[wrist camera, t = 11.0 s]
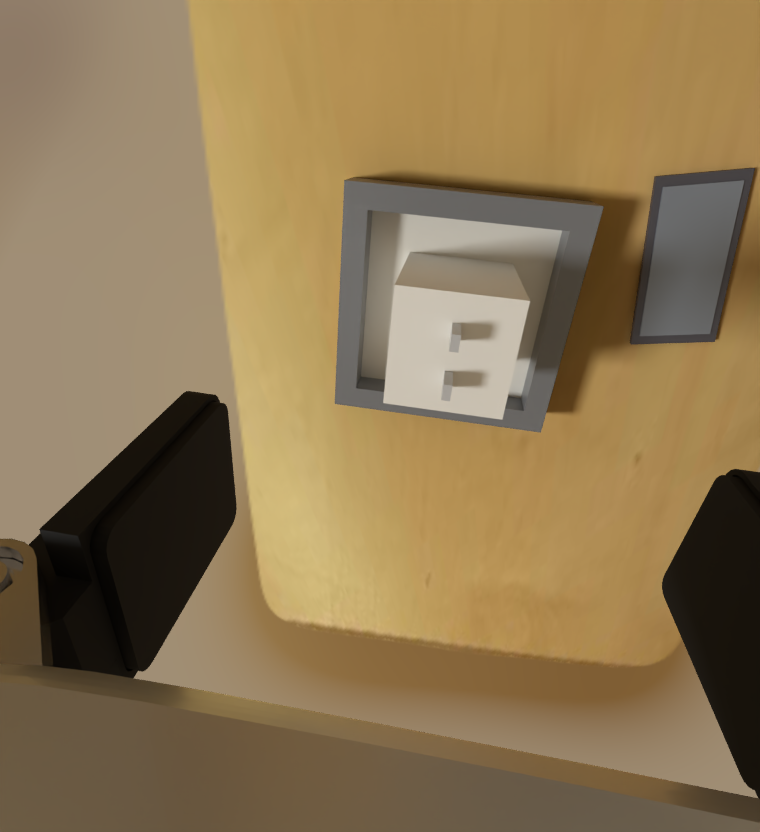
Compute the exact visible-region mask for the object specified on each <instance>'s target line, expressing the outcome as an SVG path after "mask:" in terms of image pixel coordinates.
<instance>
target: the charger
mask: <svg viewBox="0 0 760 832" xmlns="http://www.w3.org/2000/svg"><path fill="white" fill-rule="evenodd" d="M529 304H530V300H529V297H528V295H527V293H526V291H525V289H524V287H523V285H522V282H521V280H520V278H519V276H518V274H517V272H516V269H515V267H514V265H513V264H511V263H502V262H493V261H485V260H476V259H467V258H458V257H449V256H441V255H432V254H423V253H414V252H410V253H409V255H408V257H407V259H406V262H405V264H404V266H403V268H402V270H401V272H400V274H399V277H398V279H397V281H396V283H395V287H394V297H393V307H392V317H391V328H390V338H389V348H388V358H387V368H386V378H385V389H384V399H383V403H386V404H393V405H400V406H407V407H415V408H422V409H429V410H436V411H443V412H450V413H458V414H465V415H472V416H479V417H486V418H493V419H501V420H502V419H503V415H504V411H505V406H506V402H507V398H508V394H509V389H510V385H511V381H512V376H513V372H514V368H515V364H516V359H517V355H518V351H519V347H520V342H521V338H522V334H523V329H524V325H525V321H526V317H527V312H528V308H529Z"/></svg>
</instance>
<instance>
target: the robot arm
mask: <svg viewBox="0 0 760 832" xmlns="http://www.w3.org/2000/svg"><path fill="white" fill-rule="evenodd" d="M233 475H234V474H233V463H232V452H231V441H230V430H229V419H228V410H227V406H226V405H225V404H224V403H220V401H219V399H218V397H217V396H216V395H212V394H204V393H198V392H191V391H186V392H185V393H183V394H182V395H181V396H180V397H179V398H178V399H177V400H176V401H175V402H174V403H173V404H172V405H171V406H169V407H168V408H167V409H166V410H165V411H164V412H163V413H162V414H161V415H160V416H159V417H158V418H157V419H156V420H155V421H154V422H153V423H151V424H150V425H149V426H148V427H147V428H146V429H145V430H144V431H143V432H142V433H141V434H140V435H139V436H138V437H137V438H136V439H134V441H132V442H131V443H130V444H129V445H128V446H127V447H126V448H125V449H124V450H123V451H122V452H121V453H120V454H119V455H118V456H116V457H115V458H114V459H113V460H112V461H111V462H110V463H109V464H108V465H107V466H106V467H105V468H104V469H103V470H102V471H101V472H100V473H98V474H97V475H96V476H95V477H94V478H93V479H92V480H91V481H90V482H89V483H88V484H87V485H86V486H85V487H84V488H83V489H82V490H80V491H79V492H78V493H77V494H76V495H75V496H74V497H73V498H72V499H71V500H70V501H69V502H68V503H67V504H66V505H65V506H64V507H63V508H61V509H60V510H59V511H58V512H57V513H56V514H55V515H54V516H53V517H52V518H51V519H50V520H49V521H48V522H47V523H46V524H45V525H43V526H42V527H41V528H40V534H39V535H38V536H37V537H36V538H35V539H34V540H33V541H32V542H31V543H30V544H29V545H28V544H26V543H25V542H22V541H18V540H14V539H0V832H760V472H753V471H746V470H739V469H734V470H731V471H729V472H728V473H727V474H726V475H721V476H719V477H718V478H716V480H715V481H714V483H713V485H712V487H711V488H710V490H709V492H708V494H707V496H706V498H705V500H704V502H703V503H702V505H701V507H700V509H699V511H698V513H697V515H696V517H695V519H694V520H693V522H692V524H691V526H690V528H689V530H688V532H687V534H686V535H685V537H684V539H683V541H682V543H681V545H680V547H679V549H678V550H677V552H676V554H675V556H674V558H673V560H672V562H671V564H670V566H669V567H668V569H667V571H666V573H665V575H664V578H663V582H662V590H663V595H664V598H665V600H666V602H667V605H668V607H669V609H670V612H671V614H672V616H673V619H674V621H675V623H676V626H677V628H678V630H679V633H680V635H681V637H682V640H683V642H684V644H685V647H686V649H687V651H688V654H689V656H690V658H691V660H692V663H693V665H694V667H695V670H696V672H697V675H698V677H699V679H700V681H701V684H702V686H703V689H704V691H705V693H706V695H707V698H708V700H709V703H710V705H711V707H712V709H713V711H714V714H715V716H716V719H717V721H718V723H719V726H720V728H721V730H722V733H723V735H724V737H725V740H726V742H727V744H728V747H729V749H730V751H731V754H732V756H733V758H734V761H735V763H736V765H737V768H738V770H739V772H740V775H741V776H742V778H743V780H744V782H745V783H746V784H747V786H748V787H750V788H752V789H753V790H755V791H756V794H757V796H758V798H759V799H758V798H753V797H748V796H743V795H738V794H733V793H728V792H723V791H718V790H713V789H708V788H703V787H698V786H693V785H688V784H683V783H678V782H673V781H668V780H663V779H658V778H653V777H648V776H643V775H638V774H633V773H628V772H623V771H618V770H614V769H608V768H604V767H598V766H593V765H588V764H583V763H578V762H573V761H568V760H563V759H558V758H552V757H547V756H542V755H537V754H532V753H527V752H522V751H517V750H511V749H507V748H501V747H496V746H491V745H485V744H481V743H476V742H471V741H465V740H460V739H455V738H450V737H444V736H440V735H435V734H429V733H424V732H418V731H413V730H409V729H403V728H398V727H393V726H388V725H383V724H378V723H373V722H367V721H362V720H357V719H352V718H346V717H341V716H336V715H330V714H325V713H320V712H315V711H309V710H303V709H299V708H293V707H288V706H283V705H278V704H272V703H267V702H262V701H256V700H251V699H246V698H240V697H235V696H230V695H224V694H219V693H214V692H209V691H204V690H198V689H192V688H186V687H180V686H174V685H169V684H163V683H157V682H151V681H145V680H139V679H133V678H134V676H135V675H136V673H137V671H144V670H146V669H147V668H148V667H149V666H150V665H151V663H152V662H153V660H154V658H155V657H156V655H157V653H158V651H159V650H160V648H161V646H162V645H163V643H164V641H165V639H166V638H167V636H168V634H169V632H170V631H171V629H172V627H173V626H174V624H175V622H176V621H177V619H178V617H179V615H180V614H181V612H182V610H183V609H184V607H185V605H186V603H187V602H188V600H189V598H190V596H191V595H192V593H193V591H194V590H195V588H196V586H197V584H198V583H199V581H200V579H201V578H202V576H203V574H204V572H205V571H206V569H207V567H208V566H209V564H210V562H211V561H212V559H213V557H214V555H215V554H216V552H217V550H218V548H219V547H220V545H221V543H222V542H223V540H224V538H225V537H226V535H227V533H228V531H229V530H230V528H231V526H232V524H233V522H234V519H235V515H236V496H235V485H234V476H233Z"/></svg>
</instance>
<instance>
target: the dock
mask: <svg viewBox="0 0 760 832" xmlns="http://www.w3.org/2000/svg"><path fill="white" fill-rule="evenodd" d="M603 207H604V206H601V205H599V204H596V203H594V202H592V201H582V200H572V199H562V198H552V197H542V196H532V195H523V194H513V193H503V192H493V191H483V190H473V189H463V188H453V187H443V186H433V185H424V184H414V183H404V182H394V181H384V180H374V179H364V178H350V179H347V180H344V204H343V227H342V250H341V273H340V296H339V319H338V342H337V365H336V389H335V404H340V405H347V406H355V407H362V408H369V409H376V410H383V411H390V412H398V413H405V414H412V415H419V416H426V417H434V418H441V419H448V420H455V421H462V422H469V423H477V424H484V425H491V426H498V427H505V428H513V429H520V430H527V431H534V432H541V429H542V426H543V422H544V419H545V415H546V412H547V408H548V404H549V401H550V397H551V394H552V390H553V386H554V383H555V379H556V376H557V372H558V369H559V365H560V361H561V358H562V354H563V351H564V347H565V344H566V340H567V336H568V333H569V329H570V326H571V322H572V318H573V315H574V311H575V308H576V304H577V301H578V297H579V293H580V290H581V286H582V283H583V279H584V275H585V272H586V268H587V265H588V261H589V258H590V254H591V250H592V247H593V243H594V240H595V236H596V233H597V229H598V225H599V222H600V218H601V215H602V211H603ZM410 252H414V253H423V254H432V255H441V256H449V257H458V258H467V259H476V260H485V261H493V262H502V263H511V264H513V265H514V267H515V269H516V272H517V274H518V276H519V278H520V280H521V282H522V285H523V287H524V289H525V291H526V293H527V295H528V297H529V300H530V304H529V308H528V312H527V317H526V321H525V325H524V329H523V334H522V338H521V342H520V347H519V351H518V355H517V359H516V364H515V368H514V372H513V376H512V381H511V385H510V389H509V394H508V398H507V402H506V406H505V411H504V415H503V419H502V420H501V419H493V418H486V417H479V416H472V415H465V414H458V413H450V412H443V411H436V410H429V409H422V408H415V407H407V406H400V405H393V404H386V403H383V399H384V389H385V378H386V368H387V358H388V348H389V338H390V328H391V317H392V307H393V297H394V287H395V283H396V281H397V279H398V277H399V274H400V272H401V270H402V268H403V266H404V264H405V262H406V259H407V257H408V255H409V253H410Z"/></svg>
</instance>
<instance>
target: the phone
mask: <svg viewBox="0 0 760 832" xmlns="http://www.w3.org/2000/svg"><path fill="white" fill-rule="evenodd" d="M754 170H755V168H745V169H734V170H722V171H711V172H699V173H688V174H676V175H665V176H655V178H654V184H653V191H652V198H651V204H650V211H649V218H648V224H647V231H646V238H645V244H644V251H643V258H642V264H641V271H640V278H639V284H638V291H637V298H636V305H635V311H634V318H633V325H632V331H631V338H630V344H658V343H689V342H715V339H716V334H717V330H718V326H719V321H720V317H721V313H722V308H723V304H724V300H725V295H726V291H727V287H728V282H729V278H730V274H731V269H732V265H733V261H734V256H735V252H736V248H737V243H738V239H739V235H740V230H741V226H742V222H743V217H744V213H745V209H746V204H747V200H748V196H749V191H750V187H751V183H752V178H753V174H754Z"/></svg>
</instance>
